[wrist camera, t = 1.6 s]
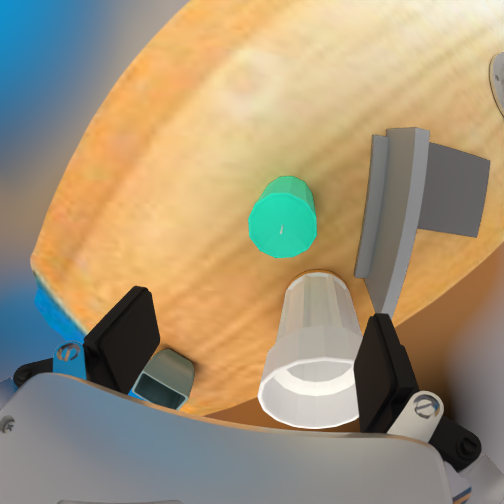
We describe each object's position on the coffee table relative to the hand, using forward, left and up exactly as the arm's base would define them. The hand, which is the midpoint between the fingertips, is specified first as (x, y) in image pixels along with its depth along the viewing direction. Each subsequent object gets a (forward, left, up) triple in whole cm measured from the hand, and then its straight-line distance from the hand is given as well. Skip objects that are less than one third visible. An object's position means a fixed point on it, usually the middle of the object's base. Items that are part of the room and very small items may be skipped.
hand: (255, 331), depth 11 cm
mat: (-22, -4, -24) cm, 33 cm away
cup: (-5, +13, -24) cm, 28 cm away
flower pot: (+18, +31, -24) cm, 43 cm away
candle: (0, 0, -24) cm, 24 cm away
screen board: (-12, 0, -24) cm, 27 cm away
